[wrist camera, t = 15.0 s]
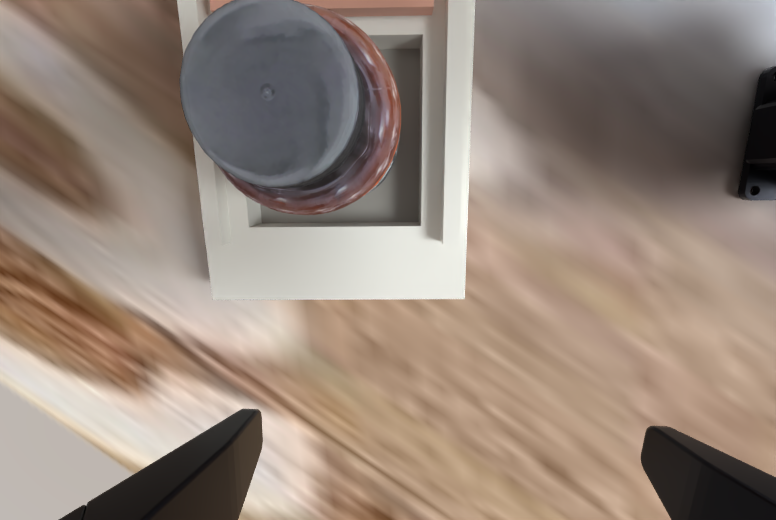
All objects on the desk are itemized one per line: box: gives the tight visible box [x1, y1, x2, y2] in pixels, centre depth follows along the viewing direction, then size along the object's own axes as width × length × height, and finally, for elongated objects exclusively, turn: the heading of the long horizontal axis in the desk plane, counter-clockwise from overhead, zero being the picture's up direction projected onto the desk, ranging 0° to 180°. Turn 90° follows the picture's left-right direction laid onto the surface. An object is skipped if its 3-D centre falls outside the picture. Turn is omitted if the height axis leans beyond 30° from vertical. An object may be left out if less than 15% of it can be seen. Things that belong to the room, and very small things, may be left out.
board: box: [177, 0, 475, 300], centre depth 17 cm, size 13×24×3 cm, turn 1°
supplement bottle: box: [180, 0, 401, 215], centre depth 13 cm, size 6×6×11 cm
